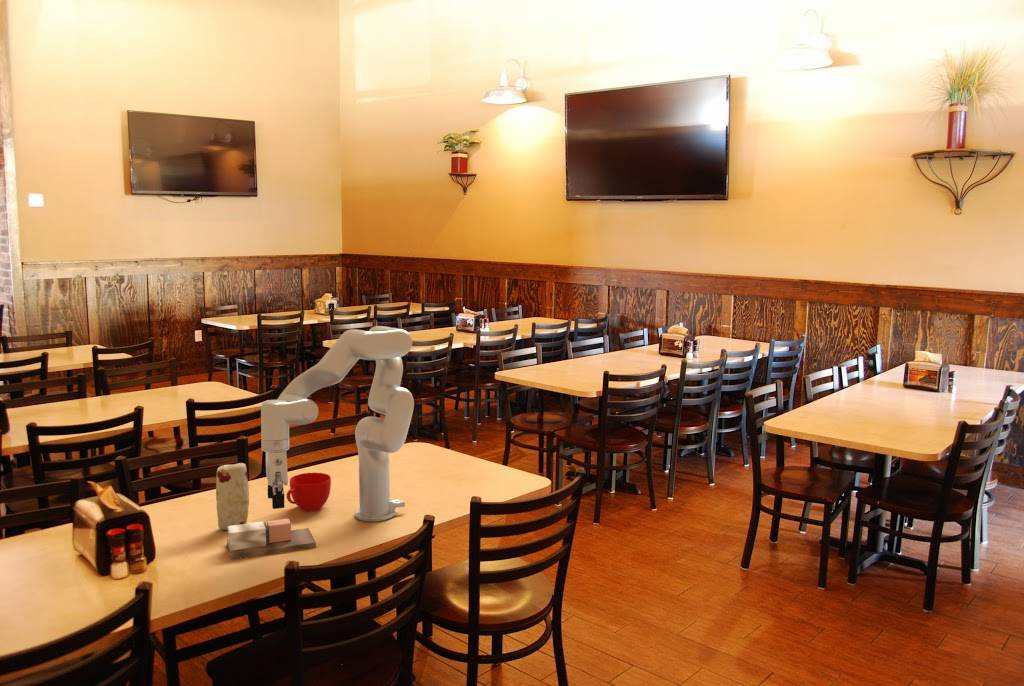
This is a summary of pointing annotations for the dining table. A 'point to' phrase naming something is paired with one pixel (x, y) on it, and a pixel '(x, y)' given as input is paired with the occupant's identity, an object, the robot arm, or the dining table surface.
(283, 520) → the stub
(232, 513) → the food model
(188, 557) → the dining table surface
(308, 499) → the ceramic cup
